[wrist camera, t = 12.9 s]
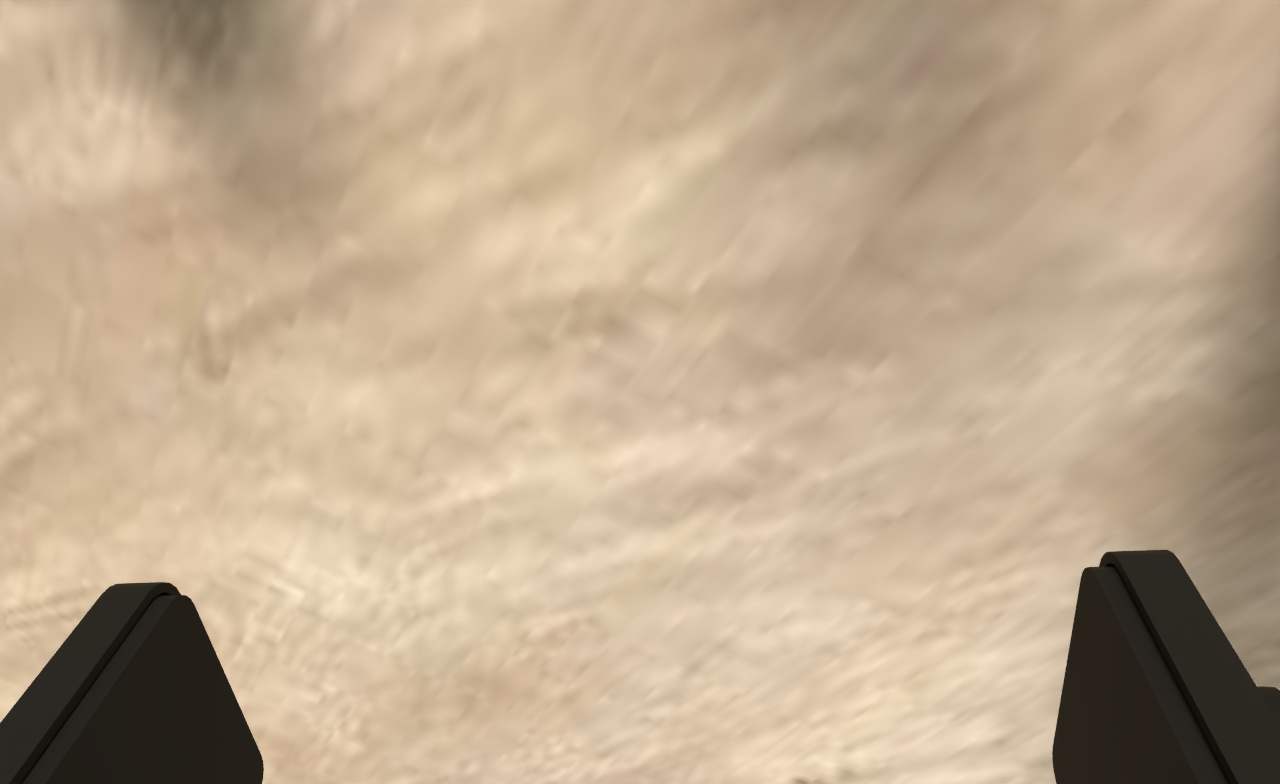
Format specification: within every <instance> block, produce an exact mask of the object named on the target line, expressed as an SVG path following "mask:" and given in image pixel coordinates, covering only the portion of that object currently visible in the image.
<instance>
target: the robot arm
mask: <svg viewBox="0 0 1280 784" xmlns="http://www.w3.org/2000/svg"><path fill="white" fill-rule="evenodd" d="M1052 754H1053V768H1054V774H1055V779H1056V783H1057V784H1280V691H1279V690H1278V689H1277V688H1274V687H1257V686H1256V685H1255V683H1254V682H1253V680H1252V678H1251V677H1250V675H1249V673H1248V672H1247V670H1246V668H1245V667H1244V665H1243V664H1242V662H1241V660H1240V659H1239V657H1238V655H1237V654H1236V652H1235V651H1234V649H1233V647H1232V646H1231V644H1230V642H1229V641H1228V639H1227V638H1226V636H1225V634H1224V633H1223V631H1222V629H1221V628H1220V626H1219V625H1218V623H1217V621H1216V620H1215V618H1214V616H1213V615H1212V613H1211V612H1210V610H1209V608H1208V607H1207V605H1206V603H1205V602H1204V600H1203V599H1202V597H1201V595H1200V594H1199V592H1198V590H1197V589H1196V587H1195V586H1194V584H1193V582H1192V581H1191V579H1190V577H1189V576H1188V574H1187V573H1186V571H1185V569H1184V568H1183V566H1182V564H1181V563H1180V561H1179V560H1178V558H1177V557H1176V556H1175V555H1174V554H1173V553H1172V552H1170V551H1168V550H1147V551H1117V552H1107V553H1105V554H1104V555H1103V557H1102V558H1101V562H1100V565H1099V567H1088V568H1085V569H1084V571H1083V573H1082V577H1081V582H1080V588H1079V594H1078V600H1077V606H1076V612H1075V618H1074V624H1073V630H1072V636H1071V642H1070V648H1069V654H1068V660H1067V666H1066V672H1065V678H1064V684H1063V690H1062V696H1061V702H1060V707H1059V713H1058V719H1057V725H1056V731H1055V737H1054V743H1053V753H1052ZM263 771H264V768H263V760H262V756H261V754H260V751H259V749H258V747H257V745H256V742H255V740H254V738H253V736H252V733H251V731H250V729H249V727H248V724H247V722H246V720H245V718H244V715H243V713H242V711H241V709H240V706H239V704H238V702H237V700H236V697H235V695H234V693H233V691H232V688H231V686H230V684H229V682H228V679H227V677H226V675H225V673H224V670H223V668H222V666H221V664H220V661H219V659H218V657H217V655H216V652H215V650H214V648H213V646H212V644H211V641H210V639H209V637H208V635H207V632H206V630H205V628H204V626H203V623H202V621H201V619H200V617H199V614H198V612H197V610H196V608H195V605H194V603H193V602H192V600H191V599H190V598H189V597H187V596H185V595H181V594H180V593H179V591H178V590H177V588H176V587H175V586H173V585H172V584H171V583H164V582H158V583H127V584H116V585H113V586H111V587H109V588H108V589H107V590H106V591H105V592H104V593H103V594H102V595H101V596H100V597H99V598H98V600H97V601H96V602H95V604H94V605H93V606H92V607H91V609H90V610H89V611H88V612H87V614H86V615H85V616H84V618H83V619H82V620H81V621H80V623H79V624H78V625H77V626H76V628H75V629H74V630H73V631H72V633H71V634H70V635H69V637H68V638H67V639H66V640H65V642H64V643H63V644H62V645H61V647H60V648H59V649H58V651H57V652H56V653H55V654H54V656H53V657H52V658H51V659H50V661H49V662H48V663H47V664H46V666H45V667H44V668H43V670H42V671H41V672H40V673H39V675H38V676H37V677H36V678H35V680H34V681H33V682H32V684H31V685H30V686H29V687H28V689H27V690H26V691H25V692H24V694H23V695H22V696H21V697H20V699H19V700H18V701H17V703H16V704H15V705H14V706H13V708H12V709H11V710H10V711H9V713H8V714H7V715H6V717H5V718H4V719H3V720H2V722H1V723H0V784H262V780H263Z"/></svg>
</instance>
